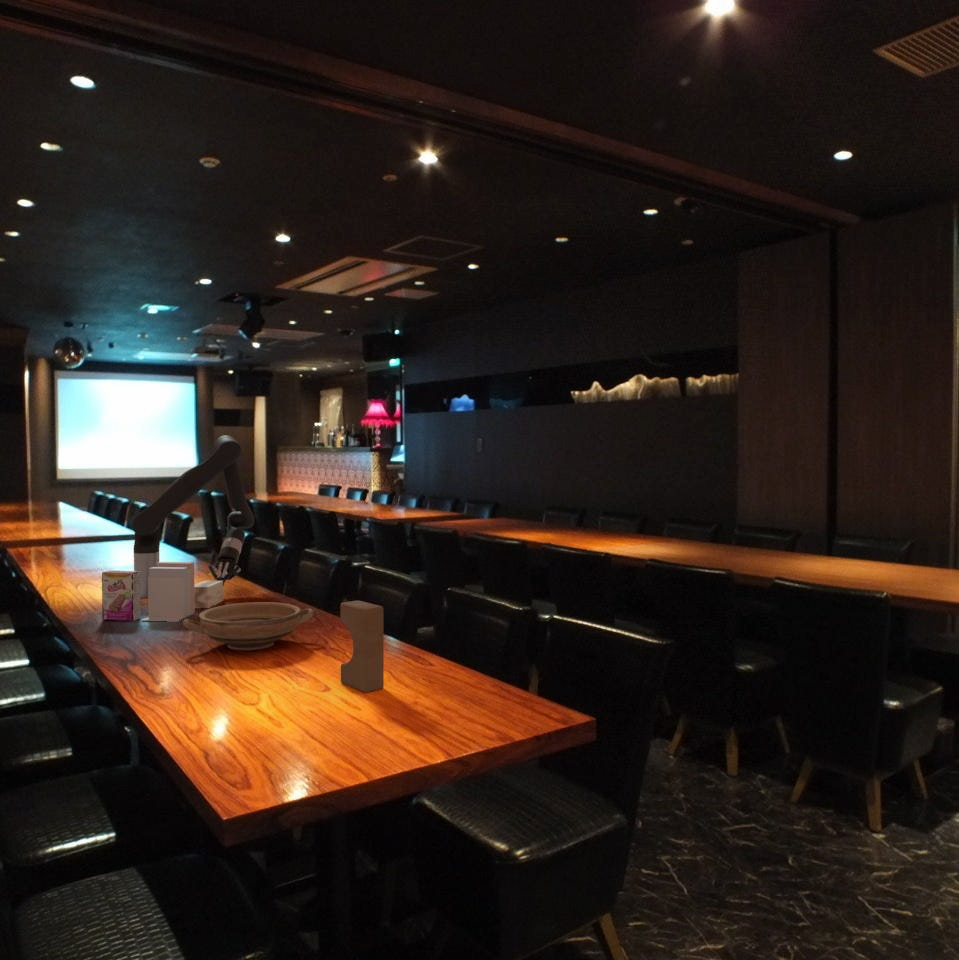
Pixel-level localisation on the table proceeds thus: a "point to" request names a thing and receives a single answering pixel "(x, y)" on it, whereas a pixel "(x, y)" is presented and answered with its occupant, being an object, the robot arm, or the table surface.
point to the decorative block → (364, 646)
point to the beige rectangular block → (208, 593)
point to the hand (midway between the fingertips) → (218, 587)
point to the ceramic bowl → (249, 623)
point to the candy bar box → (121, 595)
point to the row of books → (170, 591)
